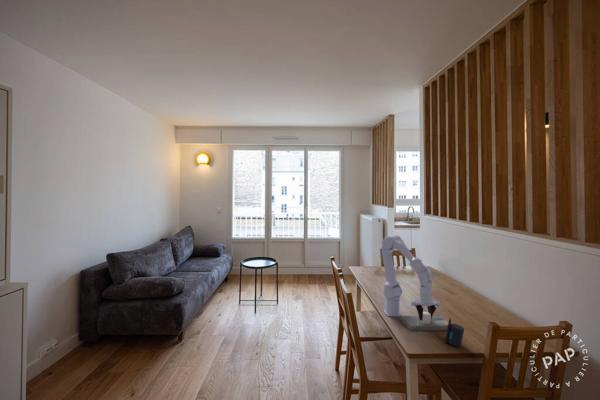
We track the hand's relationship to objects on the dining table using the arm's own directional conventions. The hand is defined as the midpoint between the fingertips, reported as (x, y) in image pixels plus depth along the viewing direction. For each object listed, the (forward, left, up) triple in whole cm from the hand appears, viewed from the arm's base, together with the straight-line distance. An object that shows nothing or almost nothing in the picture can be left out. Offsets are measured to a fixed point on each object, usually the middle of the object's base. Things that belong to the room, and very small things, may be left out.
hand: (425, 319), depth 156 cm
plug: (0, 0, -3) cm, 3 cm away
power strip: (-1, +1, -3) cm, 3 cm away
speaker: (+19, +5, -3) cm, 20 cm away
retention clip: (-7, +5, -1) cm, 9 cm away
